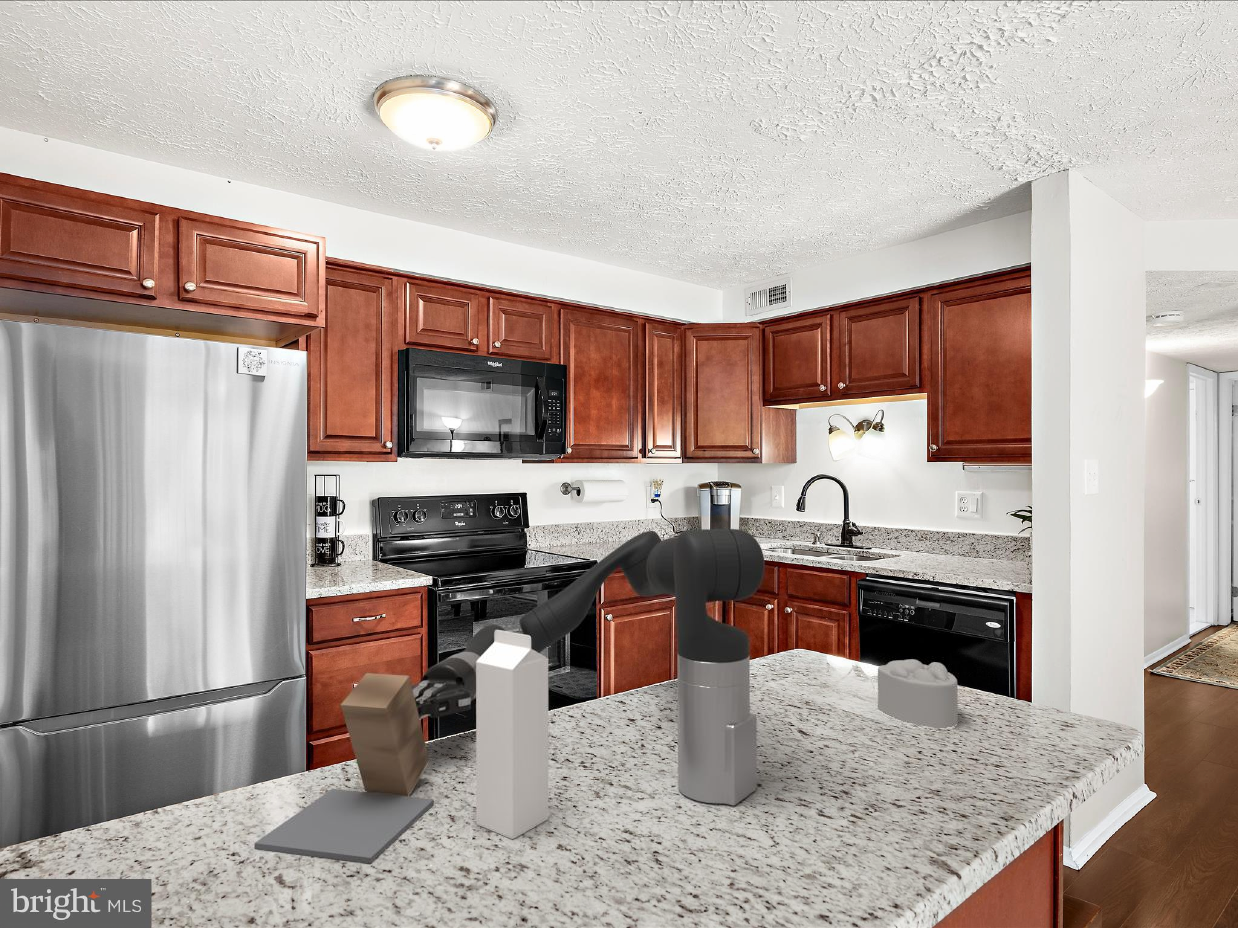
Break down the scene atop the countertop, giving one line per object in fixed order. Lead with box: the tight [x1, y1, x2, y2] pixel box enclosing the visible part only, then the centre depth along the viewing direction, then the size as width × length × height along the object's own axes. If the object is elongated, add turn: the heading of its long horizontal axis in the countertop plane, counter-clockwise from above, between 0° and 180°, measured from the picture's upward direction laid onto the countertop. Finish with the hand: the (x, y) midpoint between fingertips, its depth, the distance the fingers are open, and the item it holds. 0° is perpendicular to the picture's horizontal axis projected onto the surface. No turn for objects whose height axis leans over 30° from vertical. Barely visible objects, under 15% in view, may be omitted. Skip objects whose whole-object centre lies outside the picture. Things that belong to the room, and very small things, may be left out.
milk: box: [475, 630, 549, 840], centre depth 85 cm, size 6×6×22 cm
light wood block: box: [340, 672, 430, 797], centre depth 92 cm, size 6×6×14 cm
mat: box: [253, 788, 435, 864], centre depth 84 cm, size 14×14×1 cm
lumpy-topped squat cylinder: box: [877, 658, 959, 728], centre depth 121 cm, size 10×13×9 cm
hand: (398, 718), depth 95 cm, fingers closed
